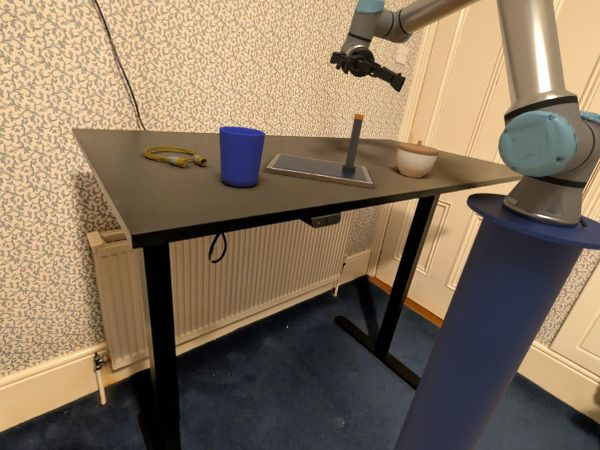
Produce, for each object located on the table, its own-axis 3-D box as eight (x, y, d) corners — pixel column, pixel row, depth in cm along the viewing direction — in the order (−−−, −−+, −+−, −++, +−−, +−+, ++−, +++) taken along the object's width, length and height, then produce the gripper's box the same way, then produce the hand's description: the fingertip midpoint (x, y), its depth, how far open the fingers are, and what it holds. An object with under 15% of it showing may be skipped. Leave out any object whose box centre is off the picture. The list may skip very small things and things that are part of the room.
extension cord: (144, 167, 64) (143, 157, 63) (144, 149, 77) (144, 141, 76) (207, 168, 69) (208, 159, 68) (197, 151, 82) (198, 143, 81)
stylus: (357, 172, 79) (369, 116, 74) (346, 172, 77) (357, 114, 72) (350, 168, 81) (361, 114, 76) (339, 168, 80) (349, 112, 75)
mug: (243, 171, 70) (246, 124, 67) (267, 189, 61) (273, 135, 57) (206, 172, 66) (206, 121, 62) (226, 191, 57) (228, 133, 53)
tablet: (364, 170, 88) (365, 166, 87) (371, 188, 72) (373, 182, 71) (277, 157, 88) (277, 152, 88) (265, 172, 73) (266, 166, 72)
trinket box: (438, 179, 89) (449, 145, 86) (414, 181, 83) (425, 144, 80) (407, 168, 97) (415, 137, 93) (383, 170, 91) (391, 136, 87)
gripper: (391, 87, 97) (413, 108, 80) (313, 60, 92) (319, 76, 75) (403, 61, 93) (429, 77, 76) (322, 31, 88) (331, 41, 71)
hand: (375, 77), depth 76 cm, fingers open, 13 cm apart
